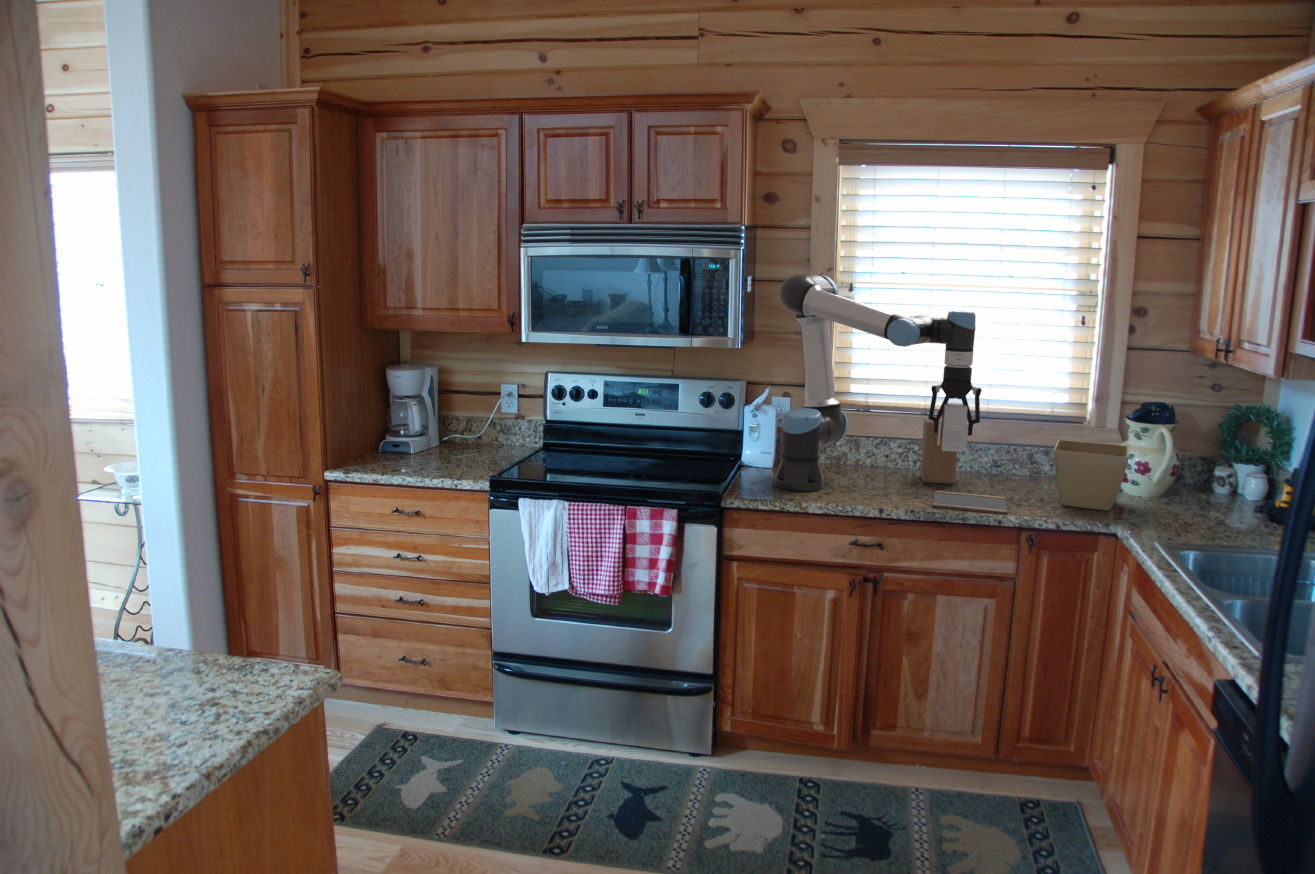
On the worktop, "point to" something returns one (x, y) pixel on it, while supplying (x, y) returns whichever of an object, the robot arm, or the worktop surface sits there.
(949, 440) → the small box
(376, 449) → the worktop surface
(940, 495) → the grey flat board
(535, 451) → the worktop surface
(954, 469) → the wooden block
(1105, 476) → the flower pot
